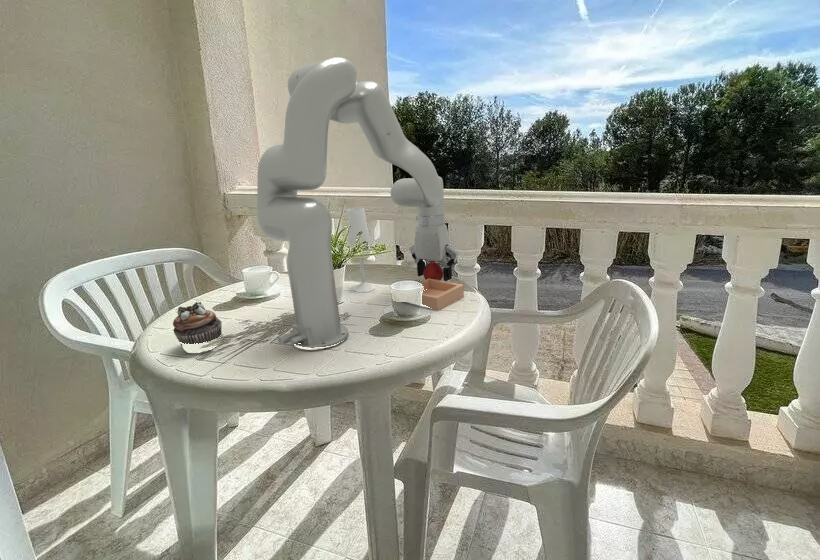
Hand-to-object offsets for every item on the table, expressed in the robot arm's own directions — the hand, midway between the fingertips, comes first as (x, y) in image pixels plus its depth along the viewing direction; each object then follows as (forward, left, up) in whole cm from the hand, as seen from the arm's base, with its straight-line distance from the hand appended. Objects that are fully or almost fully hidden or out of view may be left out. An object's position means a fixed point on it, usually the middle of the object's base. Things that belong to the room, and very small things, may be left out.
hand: (434, 277), depth 125 cm
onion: (0, 0, -3) cm, 3 cm away
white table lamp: (-13, +17, -3) cm, 22 cm away
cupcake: (-61, +21, -3) cm, 64 cm away
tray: (-10, -7, -2) cm, 12 cm away
